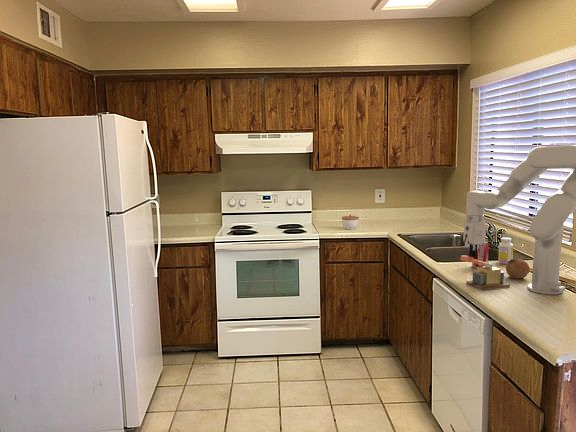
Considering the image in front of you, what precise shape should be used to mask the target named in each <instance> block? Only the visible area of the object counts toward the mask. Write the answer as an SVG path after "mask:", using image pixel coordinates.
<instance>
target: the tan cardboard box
mask: <svg viewBox="0 0 576 432" xmlns="http://www.w3.org/2000/svg"><path fill="white" fill-rule="evenodd" d="M471 281H472V283H475V284H477V285H480V286H483V285H486V286H489V285H497V284H500V283H504V282H505V272H504V271H502V270H501V268H498V267H496V266H493V268H486V267H485V266H480V267H477V268H476V271H473V272H472V280H471Z"/></svg>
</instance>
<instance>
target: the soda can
mask: <svg viewBox="0 0 576 432" xmlns="http://www.w3.org/2000/svg"><path fill="white" fill-rule="evenodd" d="M489 246H490V245H489V243H488V241H487V240H486V241H485V242H484V243H482V245H480V246H479V249H478V252H477V259H476V260H479V261H483V262H487V263H489V262H488V261H489V248H490V247H489ZM471 266H472V267H473V268H474V269H477V267H480V266H484V265H481V264H477V263H474V262H471Z"/></svg>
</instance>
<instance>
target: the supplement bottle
mask: <svg viewBox="0 0 576 432" xmlns="http://www.w3.org/2000/svg"><path fill="white" fill-rule="evenodd" d="M500 239H501V242H500V243H499V244H498V263H499V264H502V265H507V264H508V262H509V261H510V260H512V259H514V244H513V243H512V238H511V237H501V238H500Z"/></svg>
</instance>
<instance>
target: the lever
mask: <svg viewBox="0 0 576 432" xmlns="http://www.w3.org/2000/svg"><path fill="white" fill-rule="evenodd" d="M460 261H462V262H466V263H472V262H474V263H477V264H481V265H484V266H485V267H486V268H493V267H494V263H491V262H488V263H487V262H483V261H479V260H476V259H474V257H470V256H469V255H465V254H463V255H460Z"/></svg>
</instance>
